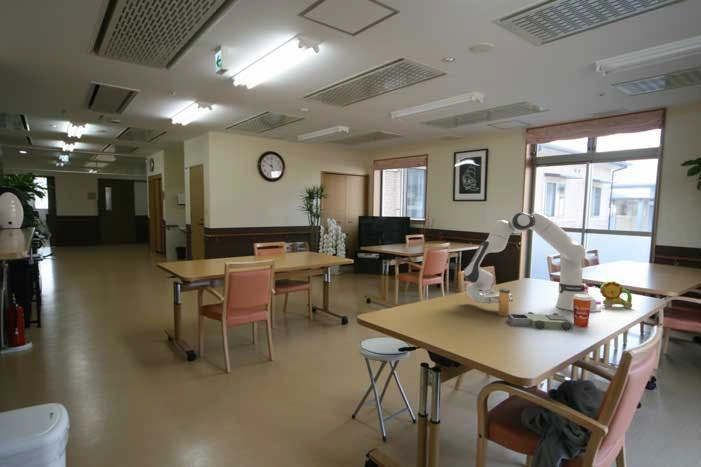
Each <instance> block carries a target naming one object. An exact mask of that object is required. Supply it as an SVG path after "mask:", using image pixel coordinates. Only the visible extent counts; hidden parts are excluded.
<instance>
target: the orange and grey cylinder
mask: <svg viewBox="0 0 701 467" xmlns="http://www.w3.org/2000/svg"><path fill="white" fill-rule="evenodd" d="M498 292H499V300H500V303H498V316H500V317H508V314H510V312H509V309H510V302H509V294H510V292H511V290H510V289H508V288H498Z"/></svg>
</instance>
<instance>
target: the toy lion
mask: <svg viewBox="0 0 701 467" xmlns="http://www.w3.org/2000/svg"><path fill="white" fill-rule="evenodd" d="M599 292H600V294H601V296H602V297H603V298H605V299H603V301H602V304H603V305H604V306H606V307H607V308H611V307H612V306H614V305H621V306H622V307H624V308H626V309H631V308H632V307H633V304H632V301H633V300H632V299H633V298H632V297H633V296H632V293H630V291H628V290H627V289H625V288H624V287H623V286H622V285H621V284H620V283H619V282H616V281H614V280H612V281H606V282H602V285H600V290H599ZM622 294H626V295H627V298H626V300H625V299H624V298H622V297H620V296H621V295H622Z"/></svg>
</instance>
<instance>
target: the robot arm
mask: <svg viewBox="0 0 701 467" xmlns="http://www.w3.org/2000/svg"><path fill="white" fill-rule="evenodd" d="M527 230H532V231H533V232H535V234H537V235H538V236H539V237H540V238H541V239H543V240H544V241H545V242H546V243H547V244H549V245H550V246H551V247H552V248H553V249H554V250H556V252H558V253H559V264H560V266H559V267H560V274H559V275H560V277H559V283H558V297H557V302H556V304H555V307H557V308H558V309H563V310H566V311H571V312H573V296H574V294H583V295H588V296H591V295H590V294H589V292H588V293H587V292H585V290H589V286H587V285H584V284H583V266H582V260H583V259H584V257H585V256H586V249H585V247H584V245H583V244H582V243H580V242H579V241H578V240H577V239H576V238H574V237H573V236H572V235H570V234H569V233H568V232H566V230H564V229H563V228H561V227H560V226H559V225H558V224H557V223H556V222H554V221H553V220H552V219H551V218H550V217H548V216H546V215H544V214H543V213H542V212H539V211H535V212H533V213H528V212H517V213H515V214H514V215H512V216H511V217H510V218H509V219H508V220H505V219H504V220H503V219H499V220H497V221H496V222H495V223H494V224H493V226H492V227H491V230H490V231H489V232H490V233H489V234H488V237H487V239H486V240H485V241H482V242H481V243H480V244H479V246H478V247H477V249H476V251H475V253H474V255H473V256H472V258H471V260H470V262H469V263H468V264H467V265H466V267H465V269H464V271H463V275H464V279H465V280H466V282H469V283H468V284H467V285H466V288H465V292H466V294H467V296H468V297H470V298H472V299H474V300H475V303H479V304H487V305H488V304H492V303H496V304H499V303H500V300H499V291H498V292H496V291H495V289H494V288H493V285H494V281H495V278H494V274H493V273H491V272H489V271H488V270H485V269H483V268H481V266H480V265H481V263H482V262H483V259H484V258H485V256H486V255H488V254H489V253H499V252H502V251H504V250H505V249H506V247H507V245H508V243H509V242H508V241H509V239H510V236H511V235H519V234H520V235H521V234H523V233H524V232H526V231H527ZM513 297H514V296H513V294H512V293H509V303H510V302H513V301H514V300H513V299H514V298H513ZM591 299H592V300H591V305H590V312H591V313H592V312H593V313H594V312H596V313H598V312H601V310H602V309H601V308H600V307H599V306H597V304H596V301H595V300H596V299H595V298H594V297H593V296H591Z"/></svg>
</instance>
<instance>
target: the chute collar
mask: <svg viewBox="0 0 701 467" xmlns="http://www.w3.org/2000/svg"><path fill="white" fill-rule="evenodd" d="M507 321H508V322H509V324H510V323H511V324H512V325H511V324H510V325H511V326H513V325H516V326H518V327H531V324H532V319H531V318H530V317H529V316H528V315H526V314H525V313H524V314H523V313H522V314H521V313H509V314H508V316H507ZM516 326H515V327H516Z"/></svg>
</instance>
